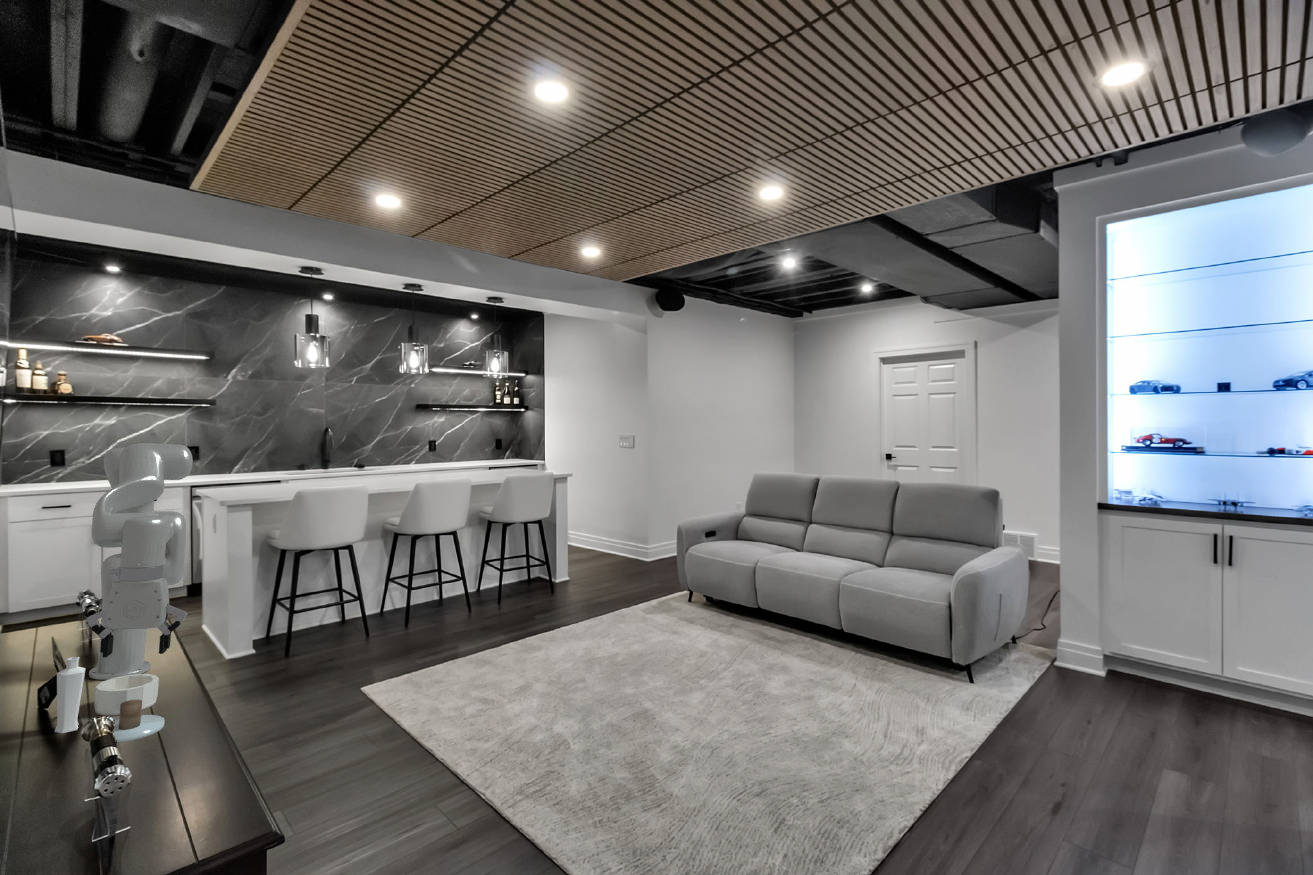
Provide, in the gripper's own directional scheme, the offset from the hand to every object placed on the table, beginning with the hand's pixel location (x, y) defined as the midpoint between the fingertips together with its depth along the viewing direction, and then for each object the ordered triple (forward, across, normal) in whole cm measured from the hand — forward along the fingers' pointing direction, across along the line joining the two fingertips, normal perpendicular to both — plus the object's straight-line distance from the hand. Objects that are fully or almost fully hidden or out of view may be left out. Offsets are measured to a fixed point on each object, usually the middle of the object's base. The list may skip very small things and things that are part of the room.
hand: (135, 653), depth 136 cm
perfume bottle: (+16, -12, +5) cm, 21 cm away
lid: (+17, 0, +1) cm, 17 cm away
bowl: (+16, -5, +16) cm, 23 cm away
